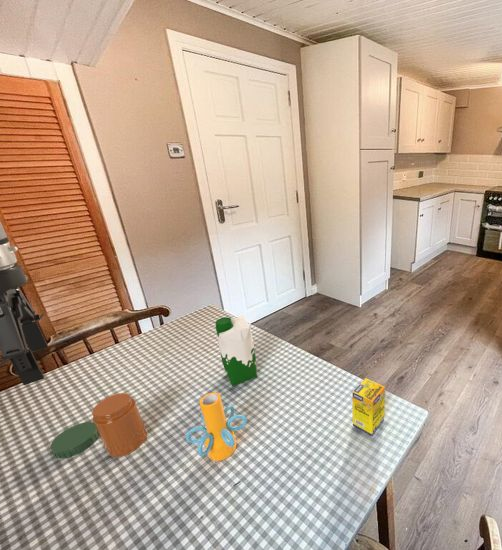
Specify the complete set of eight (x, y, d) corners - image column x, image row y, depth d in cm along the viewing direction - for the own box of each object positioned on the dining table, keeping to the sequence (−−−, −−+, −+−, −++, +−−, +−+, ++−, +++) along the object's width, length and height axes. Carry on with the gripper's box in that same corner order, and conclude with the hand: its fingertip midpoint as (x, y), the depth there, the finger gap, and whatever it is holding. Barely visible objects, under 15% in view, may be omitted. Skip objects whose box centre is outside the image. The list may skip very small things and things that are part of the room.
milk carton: (223, 373, 94) (211, 316, 86) (253, 362, 98) (244, 308, 91) (229, 390, 87) (216, 330, 79) (261, 377, 92) (252, 320, 84)
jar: (106, 441, 72) (88, 403, 67) (144, 423, 76) (130, 386, 72) (108, 464, 66) (90, 424, 62) (149, 443, 71) (135, 405, 67)
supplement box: (372, 437, 72) (372, 402, 68) (352, 425, 76) (351, 391, 71) (384, 420, 77) (385, 386, 73) (365, 410, 80) (365, 377, 76)
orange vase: (190, 481, 63) (173, 428, 57) (194, 440, 72) (180, 391, 66) (252, 459, 67) (242, 408, 62) (249, 423, 76) (239, 376, 71)
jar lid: (82, 457, 68) (79, 450, 67) (43, 460, 67) (39, 453, 66) (107, 426, 75) (104, 420, 75) (72, 429, 75) (69, 423, 74)
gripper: (9, 283, 48) (60, 387, 56) (26, 249, 66) (63, 332, 74) (-67, 297, 44) (-1, 408, 52) (-27, 256, 61) (18, 344, 69)
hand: (37, 364), depth 63 cm, fingers open, 13 cm apart
